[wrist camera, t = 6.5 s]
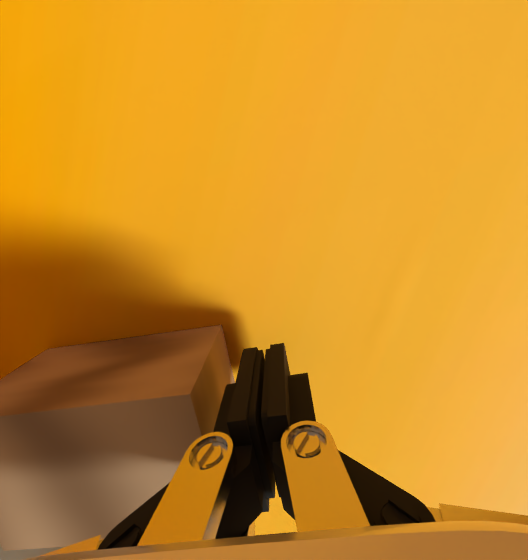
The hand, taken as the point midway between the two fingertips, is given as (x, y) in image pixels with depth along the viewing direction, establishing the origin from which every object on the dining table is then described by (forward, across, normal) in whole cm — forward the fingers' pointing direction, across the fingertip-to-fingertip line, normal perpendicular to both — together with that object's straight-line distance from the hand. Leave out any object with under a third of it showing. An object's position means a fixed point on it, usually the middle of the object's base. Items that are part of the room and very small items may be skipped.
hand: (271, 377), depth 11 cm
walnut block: (+2, +7, +1) cm, 7 cm away
